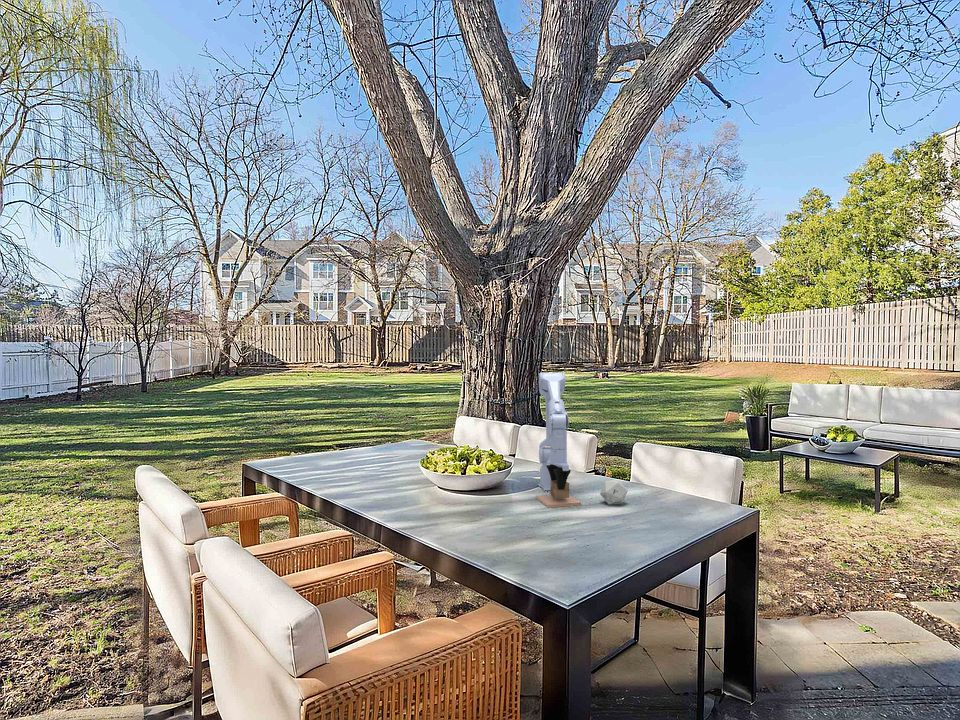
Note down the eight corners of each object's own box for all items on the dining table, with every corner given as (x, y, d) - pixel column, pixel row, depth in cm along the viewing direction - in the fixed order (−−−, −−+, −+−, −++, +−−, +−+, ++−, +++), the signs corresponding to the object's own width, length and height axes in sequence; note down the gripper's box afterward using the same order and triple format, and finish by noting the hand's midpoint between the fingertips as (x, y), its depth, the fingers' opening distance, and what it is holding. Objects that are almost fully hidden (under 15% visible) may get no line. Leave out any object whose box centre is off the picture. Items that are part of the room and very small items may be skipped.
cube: (550, 494, 203) (550, 480, 203) (563, 494, 204) (563, 480, 204) (555, 498, 198) (555, 484, 198) (569, 497, 200) (569, 483, 199)
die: (595, 504, 200) (603, 486, 194) (601, 487, 207) (609, 469, 201) (618, 514, 198) (626, 496, 193) (623, 497, 205) (632, 479, 199)
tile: (536, 498, 206) (536, 495, 206) (567, 496, 209) (567, 493, 209) (547, 507, 194) (547, 504, 194) (581, 505, 197) (581, 502, 197)
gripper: (540, 445, 207) (540, 483, 207) (555, 452, 193) (554, 493, 193) (558, 444, 209) (558, 482, 209) (574, 451, 195) (574, 491, 195)
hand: (558, 487), depth 201 cm, fingers closed on cube, 5 cm apart
